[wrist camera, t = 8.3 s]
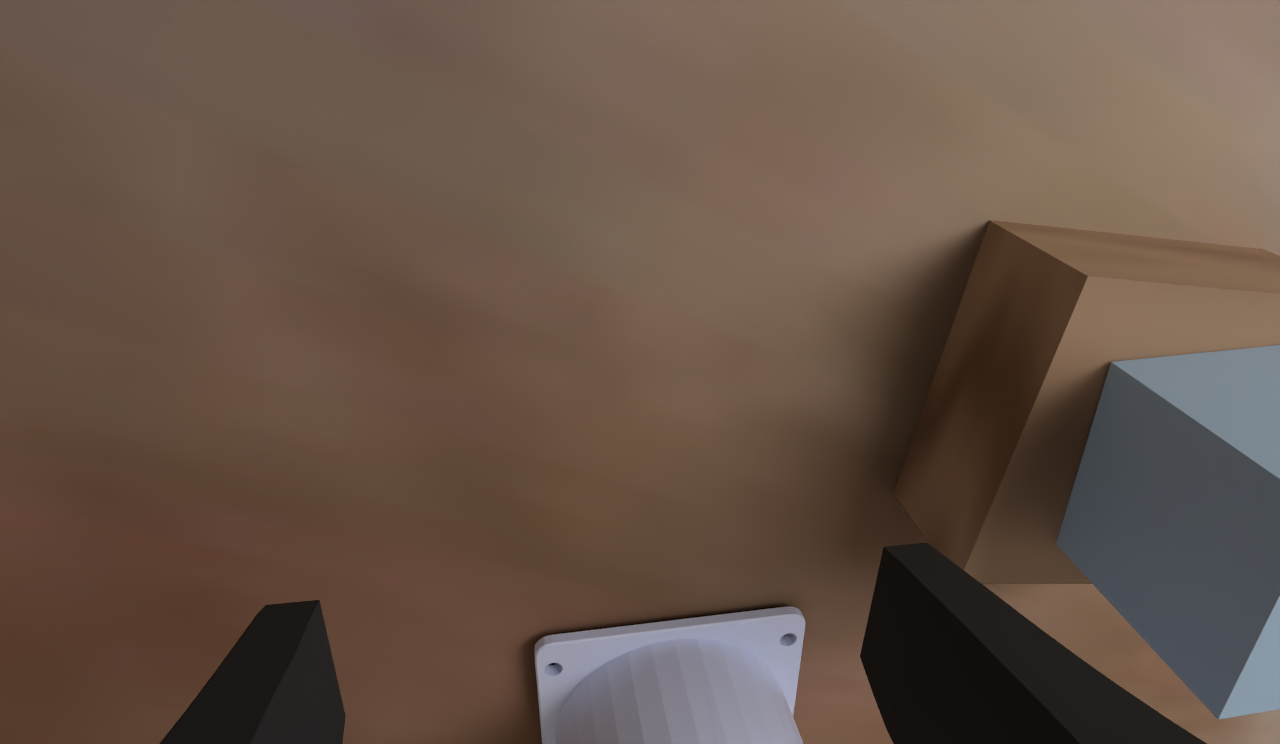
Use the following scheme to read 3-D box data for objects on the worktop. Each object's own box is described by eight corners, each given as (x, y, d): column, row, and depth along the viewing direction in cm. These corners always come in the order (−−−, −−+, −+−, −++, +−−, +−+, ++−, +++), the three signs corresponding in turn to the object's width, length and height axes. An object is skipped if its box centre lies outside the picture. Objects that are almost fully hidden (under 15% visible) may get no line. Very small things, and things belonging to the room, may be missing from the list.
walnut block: (1126, 493, 25) (1229, 583, 21) (888, 486, 23) (958, 583, 20) (1252, 245, 21) (1402, 305, 18) (981, 215, 19) (1087, 276, 16)
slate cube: (1238, 519, 20) (1444, 681, 16) (1055, 543, 19) (1217, 719, 15) (1317, 341, 18) (1585, 474, 13) (1111, 362, 17) (1323, 508, 13)
